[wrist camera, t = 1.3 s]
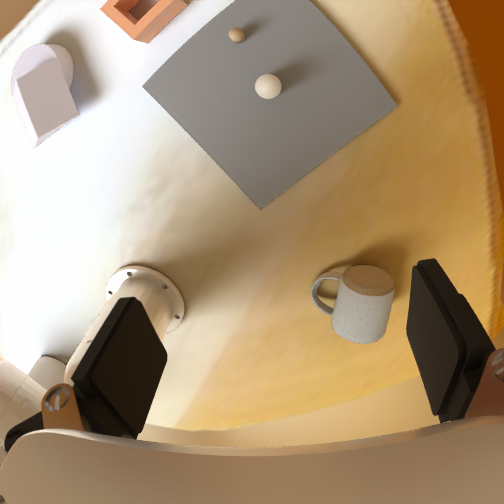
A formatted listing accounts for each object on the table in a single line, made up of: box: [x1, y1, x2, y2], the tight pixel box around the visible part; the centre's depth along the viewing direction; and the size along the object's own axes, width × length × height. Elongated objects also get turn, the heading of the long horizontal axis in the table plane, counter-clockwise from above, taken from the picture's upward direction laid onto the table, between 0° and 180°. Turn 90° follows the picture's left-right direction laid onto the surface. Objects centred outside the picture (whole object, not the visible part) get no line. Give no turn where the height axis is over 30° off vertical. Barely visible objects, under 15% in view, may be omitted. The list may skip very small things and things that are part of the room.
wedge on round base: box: [11, 44, 79, 149], centre depth 29 cm, size 9×7×13 cm
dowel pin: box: [229, 27, 245, 43], centre depth 27 cm, size 1×1×2 cm
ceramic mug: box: [311, 265, 395, 344], centre depth 40 cm, size 11×8×8 cm
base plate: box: [142, 0, 398, 210], centre depth 29 cm, size 20×20×6 cm
